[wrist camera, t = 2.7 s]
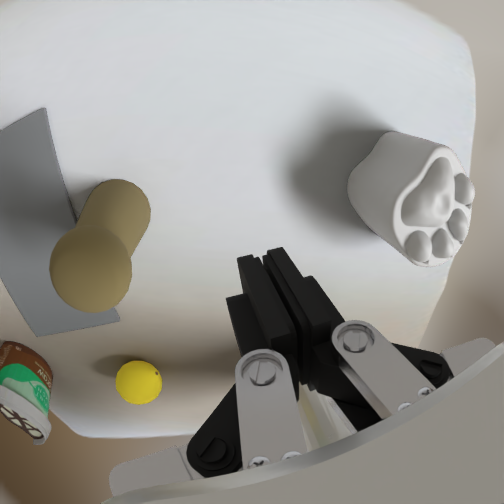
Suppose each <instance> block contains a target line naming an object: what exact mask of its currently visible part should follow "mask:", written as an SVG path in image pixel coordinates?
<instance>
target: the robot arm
mask: <svg viewBox="0 0 504 504" xmlns="http://www.w3.org/2000/svg"><path fill="white" fill-rule="evenodd" d="M262 258H263V264H262V262H261V260H260V258H259V257H255V258H254V257H253V255H252V254H251V255H247V256H243V257H239V258H237V262H238V268H239V273H240V279H241V284H242V289H243V294H240V295H236V296H232V297H228V298H226V302H227V306H228V310H229V314H230V318H231V322H232V325H233V329H234V333H235V336H236V340H237V343H238V346H239V350H240V353H241V357H242V358H241V359H240V360H239V361H238V363H237V365H236V368H235V381H236V383H235V384H234V385H233V387H232V388H231V389H230V391H229V392H228V393H227V395H226V396H225V397H224V398H223V400H222V401H221V402H220V404H219V405H218V406H217V408H216V409H215V410H214V411H213V413H212V414H211V415H210V416H209V418H208V419H207V420H206V421H205V423H204V424H203V425H202V426H201V428H200V429H199V430H198V431H197V433H196V434H195V435H194V436H193V437H192V439H191V440H190V442H189V443H188V444H186V445H183V446H181V447H176V446H174V447H170V448H168V449H165V450H162V451H159V452H156V453H153V454H150V455H147V456H144V457H141V458H137V459H134V460H131V461H127V462H124V463H121V464H119V465H117V466H115V467H114V468H113V470H112V471H111V473H110V476H109V484H110V488H111V491H112V494H113V497H112V498H110V499H108V500H106V501H104V502H102V503H101V504H504V342H503V343H501V344H499V345H498V346H496V345H495V344H494V343H493V342H492V341H490V340H489V339H486V338H478V339H475V340H472V341H469V342H467V343H464V344H461V345H458V346H455V347H452V348H448V349H445V350H442V351H441V353H440V354H437V353H434V352H430V351H425V350H421V349H416V348H412V347H407V346H403V345H399V344H394V343H390V342H389V341H388V340H387V339H386V338H385V337H384V336H383V335H382V334H381V333H380V332H379V331H378V330H377V329H376V328H375V327H373V326H372V325H371V324H369V323H367V322H364V321H359V320H351V321H346V322H345V320H344V319H343V317H342V316H341V315H340V313H339V312H338V310H337V309H336V308H335V306H334V305H333V303H332V302H331V300H330V299H329V298H328V296H327V295H326V293H325V292H324V291H323V289H322V288H321V287H320V285H319V284H318V282H317V281H316V280H315V278H314V277H313V276H307V277H304V278H303V276H302V275H301V273H300V272H299V270H298V269H297V267H296V266H295V264H294V263H293V262H292V260H291V259H290V257H289V256H288V254H287V253H286V251H285V250H284V248H283V247H280V248H276V249H271V250H267V255H264V256H263V257H262Z"/></svg>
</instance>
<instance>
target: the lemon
mask: <svg viewBox="0 0 504 504" xmlns="http://www.w3.org/2000/svg"><path fill="white" fill-rule="evenodd" d="M115 382H116V390H117V391H118V392H119V394H120V395H121V397H122V398H123V399H124V400H126V401H127V402H129V403H132V404H138V405H140V404H145V403H150V402H151V401H152V400H154V399H155V398H156V397H158V395H159V393H160V391H161V389H162V378H161V376H160V373H159V371H158V370H157V369H156V368H155V367H154V366H153V365H152V364H150V363H147V362H145V361H131V362H129V363H126V364H124V365H123V366H122V367H121V368H120V370H119V371H118V372H117V376H116V380H115Z"/></svg>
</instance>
